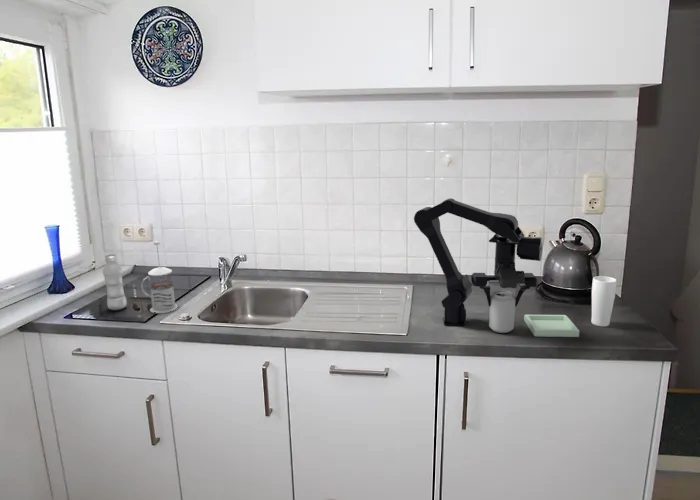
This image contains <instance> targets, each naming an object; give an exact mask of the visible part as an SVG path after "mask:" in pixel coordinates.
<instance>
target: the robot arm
mask: <svg viewBox="0 0 700 500" xmlns="http://www.w3.org/2000/svg"><path fill="white" fill-rule="evenodd" d="M445 214H451V215H454V216H457V217H459V218H463V219H464V220H468V221H470V222H472V223H476V224H478V225H481V226H483V227H486V228H487V229H488V230H489V231H491V232H492V233H494V235H493V236H492V237H491V238H490V239H488V242H489V243H493V244H494V243H495V252H494V253H495V255H494V271H493V274H494V275H492V276H491V275H486V273H485V272H473V273H472V274H471V276H470V277H471V279H470V278H469V275H468V274H464V275H463V274H462V272H460V271H459V269H458V266H457V264H456V262H455V259H454V258H453V255H452V253H451V251H450V249H449V247H448V245H447V243H446V240H445V239H444V236H443V234H442V232H441V231H442V230H441V221H440V219H439V217H441V216H444V215H445ZM413 221H414V223H415V225H416V227H417V228H418V230H419V231H420V232H421V234H423V235H424V236H425V237H426V238H427V240H428V242H429V244H430V246H431V249H432V251H433V253H434V256H435V257H436V260H437V261H438V263H439V266H440V268H441V271H442V272H443V275H444V277H445V285H446V291H447V295H446V296H445V297H444V298H443V299H442V300H441V305H442V307H443V316H442V322H443V325H444V326H451V327H452V326H456V327H457V326H458V327H459V326H461V327H462V326H463V327H464V326H466V325H465V324H466V320H467V319H466V318H467V310H466V308H465V304H464V303H465V302H466V300H467V299H468V298H469V297H470V296H471V295H472V292H473V287H479V288H480V289H482V290H483V292H484V294H485V298H486V301H487V305H488V307H490V305H491V299H490V296H491V286H490V283H499V287H500V288H502V289H508V288H509V289H510V288H511V289H515V291H514V297H515V299H516V300H515V308H516V307H517V306H518V304H519V302H520V300H521V297H522V296H523V294H524V292H526V290H529V289H531V288H537V287H538V278H537V277H536V276H535V275H534V273H533V272H525V271H524V270H516V269H517V268H516V256H517V257H518V258H519V260H525V261H537V262H541V261H542V256H543V250H544V249H543V242H542V239H543V238H542V237H540V236H538V237H537V236H535V237H534V236H533V237H532V236H531V237H530V236H525V234H524V232H523V231H522V229H521V228H520V226H519V221H518V219H517V217H516V216H515V215H512V214H507V213H506V214H505V213H500V212H491V211H488V210H484V209H480V208H478V207H475V206H473V205H470V204H467V203H463V202H461V201H458V200H456V199H454V198H446V199H444V200H443V201H442V202H440V203H439V204H436V205H435V206H433V207H431V206H427V207H424V208H422V209H419V210H418V211H416V212H415V213H414V216H413Z"/></svg>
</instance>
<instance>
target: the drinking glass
mask: <svg viewBox="0 0 700 500" xmlns="http://www.w3.org/2000/svg"><path fill="white" fill-rule="evenodd" d="M616 293H617V279H616V278H615V277H611V276H606V275H605V276H604V275H597V276H593V278H592V283H591V320H590V321H591V324H592V325H593V326H597V327H599V328H600V327H604V328H605V327H609V325H610V324H611V317H612V313H613V307H614V302H615V298H616Z"/></svg>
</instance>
